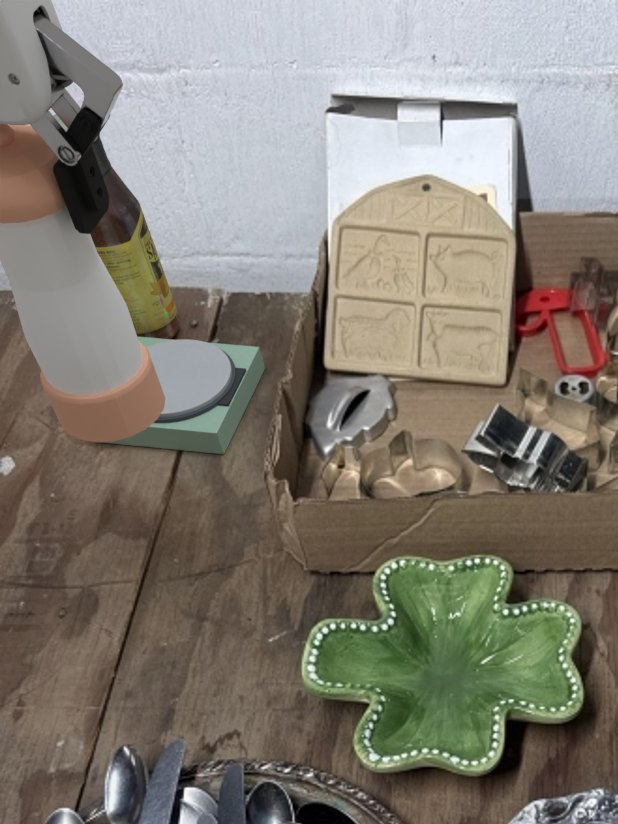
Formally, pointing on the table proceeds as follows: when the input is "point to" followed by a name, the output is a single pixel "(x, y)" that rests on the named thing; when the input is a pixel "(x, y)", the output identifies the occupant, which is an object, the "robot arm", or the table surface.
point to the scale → (199, 393)
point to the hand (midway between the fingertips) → (31, 212)
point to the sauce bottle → (132, 256)
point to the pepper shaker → (70, 303)
